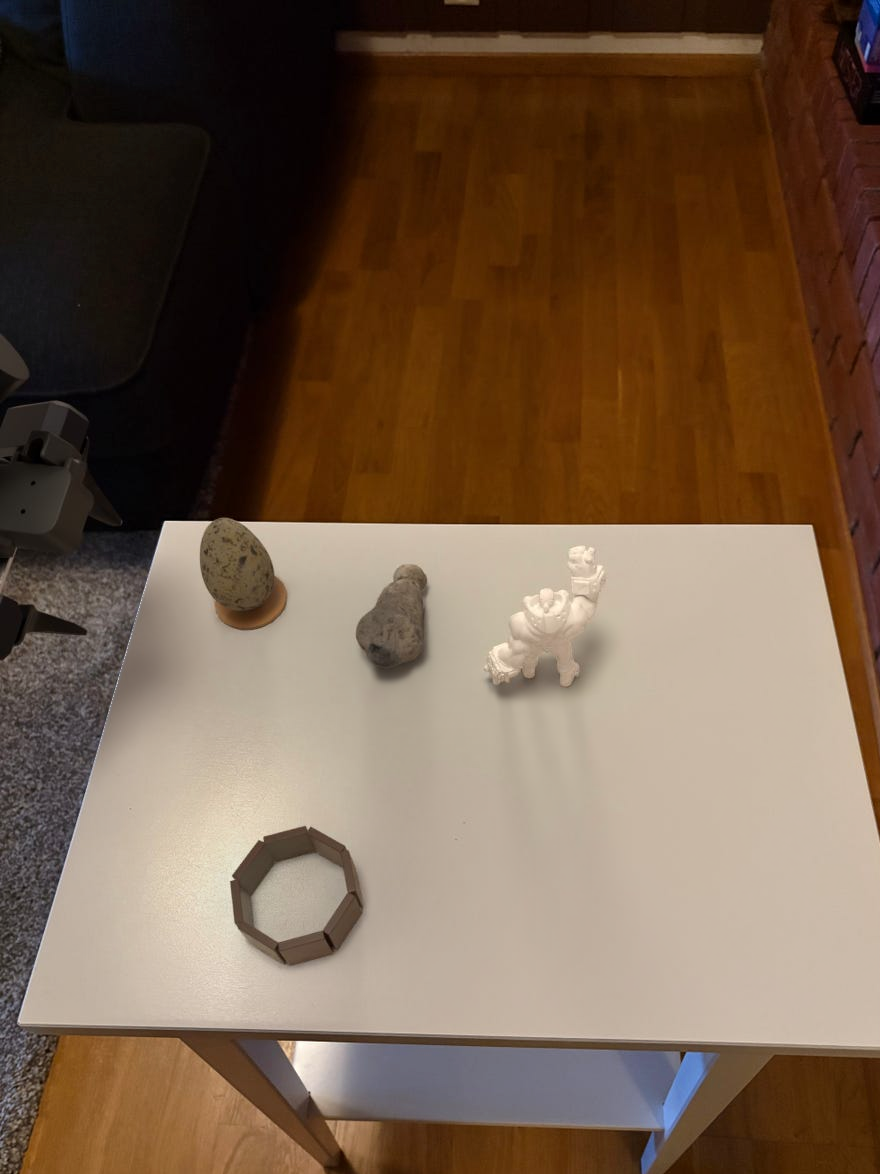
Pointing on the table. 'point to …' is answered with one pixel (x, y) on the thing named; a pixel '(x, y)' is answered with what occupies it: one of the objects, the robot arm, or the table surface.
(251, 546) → the decorative egg
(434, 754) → the table surface
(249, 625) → the coaster
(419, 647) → the stone
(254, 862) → the egg holder
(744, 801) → the table surface
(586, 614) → the figurine
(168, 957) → the table surface
